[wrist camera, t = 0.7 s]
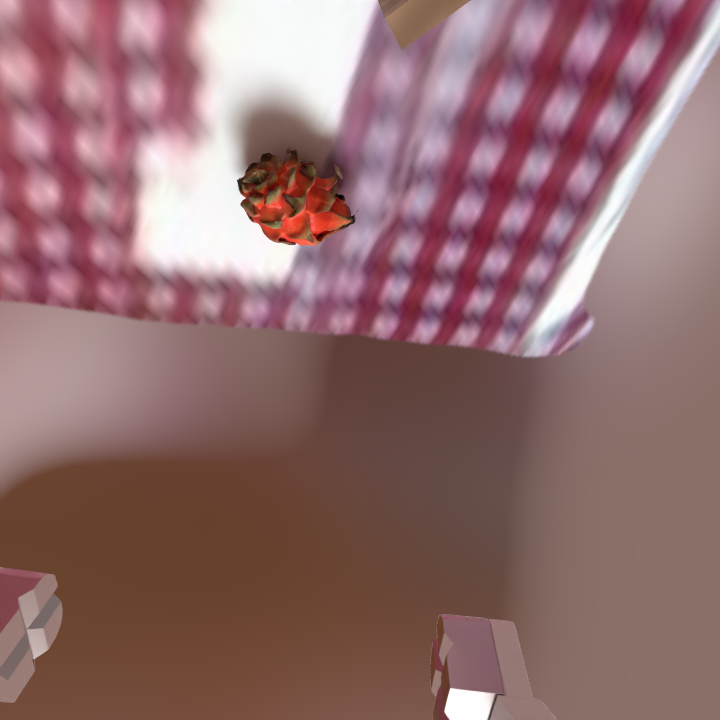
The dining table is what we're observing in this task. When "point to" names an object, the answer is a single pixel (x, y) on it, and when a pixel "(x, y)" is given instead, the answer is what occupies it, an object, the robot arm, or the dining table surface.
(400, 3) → the walnut slotted plate
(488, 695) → the robot arm
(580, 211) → the dining table surface
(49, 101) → the dining table surface
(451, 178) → the dining table surface
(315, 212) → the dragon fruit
